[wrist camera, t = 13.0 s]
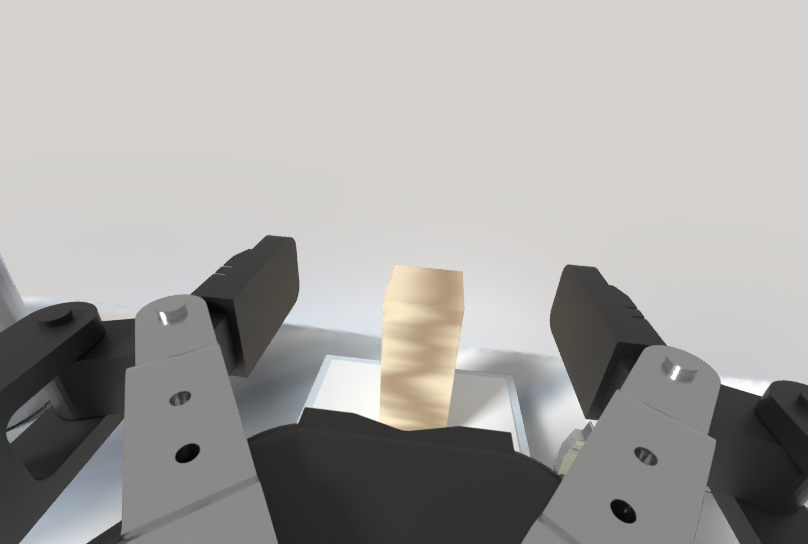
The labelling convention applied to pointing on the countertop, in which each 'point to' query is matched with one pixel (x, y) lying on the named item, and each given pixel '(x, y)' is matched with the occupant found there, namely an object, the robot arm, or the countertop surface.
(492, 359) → the countertop surface
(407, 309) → the maple block
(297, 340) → the countertop surface
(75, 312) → the robot arm
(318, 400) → the white chamfered block
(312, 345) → the countertop surface
